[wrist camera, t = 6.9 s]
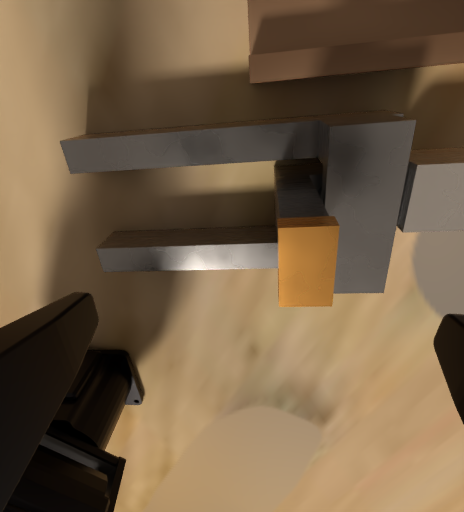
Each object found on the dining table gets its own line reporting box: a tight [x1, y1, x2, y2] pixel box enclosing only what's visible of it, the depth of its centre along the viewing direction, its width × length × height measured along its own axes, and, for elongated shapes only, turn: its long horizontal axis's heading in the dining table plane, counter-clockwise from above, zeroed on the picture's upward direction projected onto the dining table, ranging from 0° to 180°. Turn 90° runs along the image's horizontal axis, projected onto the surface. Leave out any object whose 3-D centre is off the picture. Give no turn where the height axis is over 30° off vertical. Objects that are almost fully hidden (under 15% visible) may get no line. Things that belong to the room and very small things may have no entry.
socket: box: [60, 110, 416, 293], centre depth 16 cm, size 8×16×5 cm, turn 95°
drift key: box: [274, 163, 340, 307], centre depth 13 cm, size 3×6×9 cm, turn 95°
